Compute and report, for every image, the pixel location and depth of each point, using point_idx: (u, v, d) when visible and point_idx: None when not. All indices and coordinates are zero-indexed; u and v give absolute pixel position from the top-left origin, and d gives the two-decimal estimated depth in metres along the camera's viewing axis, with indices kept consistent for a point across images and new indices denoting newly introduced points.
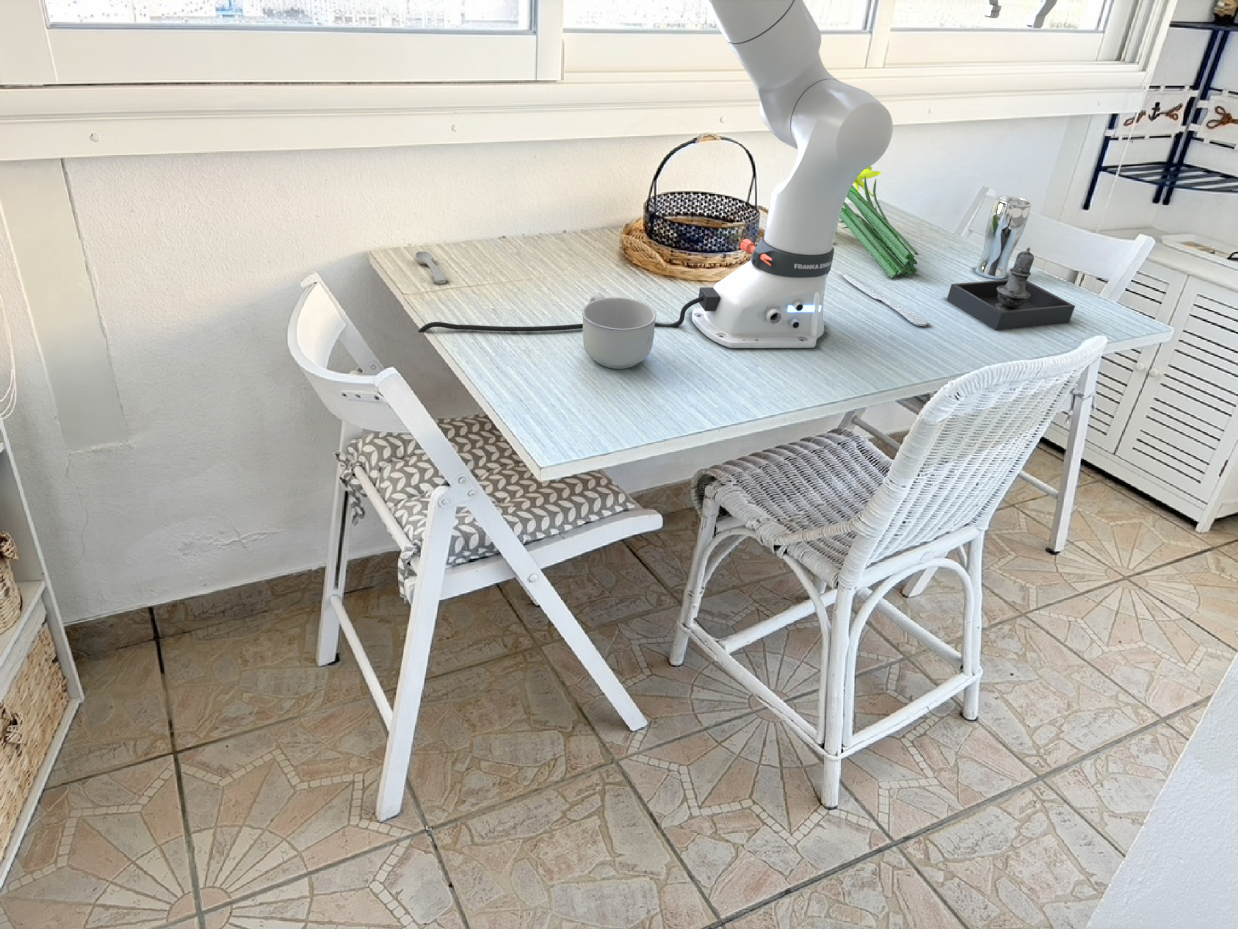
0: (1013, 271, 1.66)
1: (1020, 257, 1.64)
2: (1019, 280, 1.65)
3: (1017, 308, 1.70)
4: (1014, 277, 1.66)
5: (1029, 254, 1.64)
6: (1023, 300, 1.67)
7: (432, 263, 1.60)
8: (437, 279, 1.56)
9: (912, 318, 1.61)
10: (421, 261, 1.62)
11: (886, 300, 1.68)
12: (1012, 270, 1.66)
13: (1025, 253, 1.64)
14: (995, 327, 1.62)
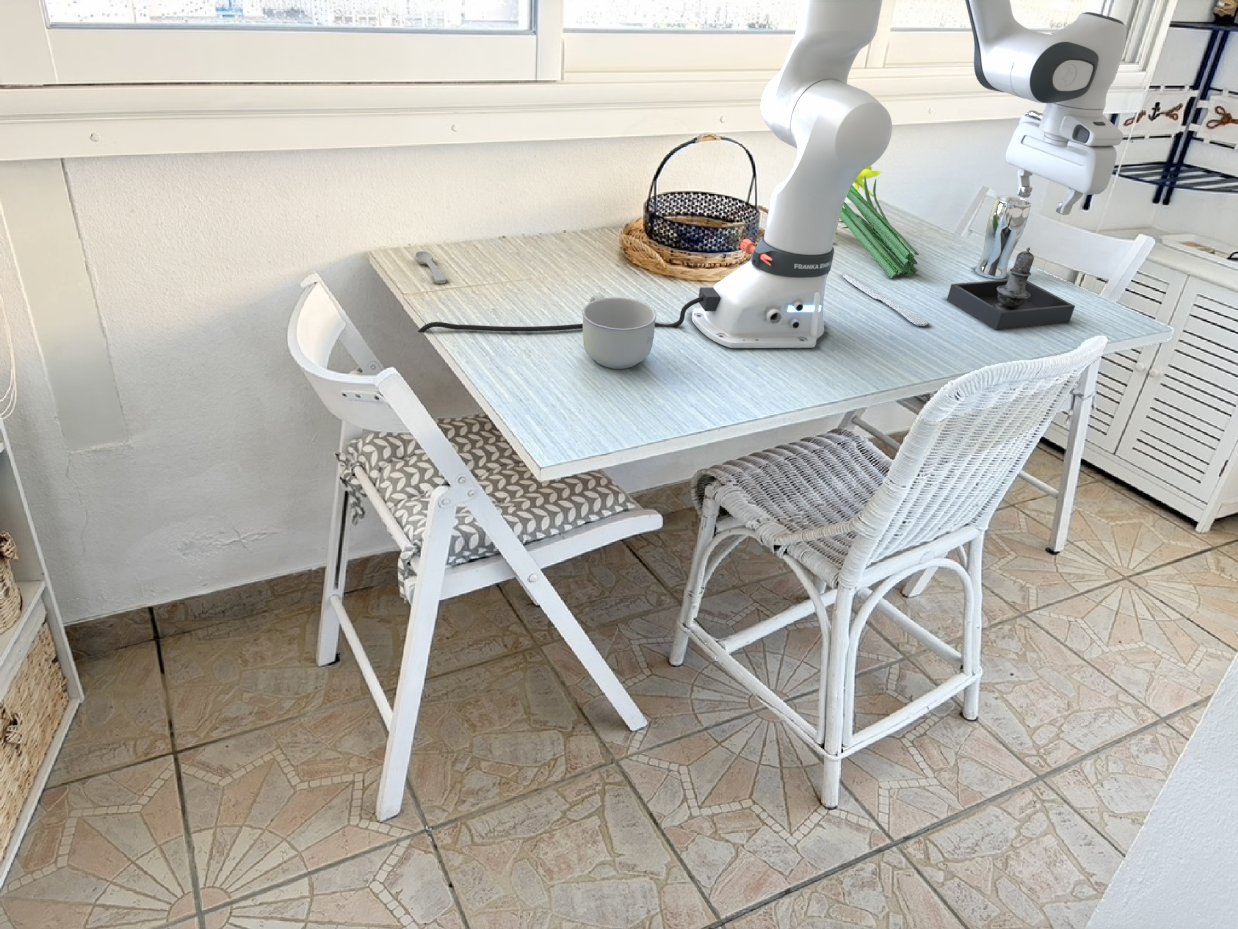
0: (1013, 271, 1.66)
1: (1020, 257, 1.64)
2: (1019, 280, 1.65)
3: (1017, 308, 1.70)
4: (1014, 277, 1.66)
5: (1029, 254, 1.64)
6: (1023, 300, 1.67)
7: (432, 263, 1.60)
8: (437, 279, 1.56)
9: (912, 318, 1.61)
10: (421, 261, 1.62)
11: (886, 300, 1.68)
12: (1012, 270, 1.66)
13: (1025, 253, 1.64)
14: (995, 327, 1.62)
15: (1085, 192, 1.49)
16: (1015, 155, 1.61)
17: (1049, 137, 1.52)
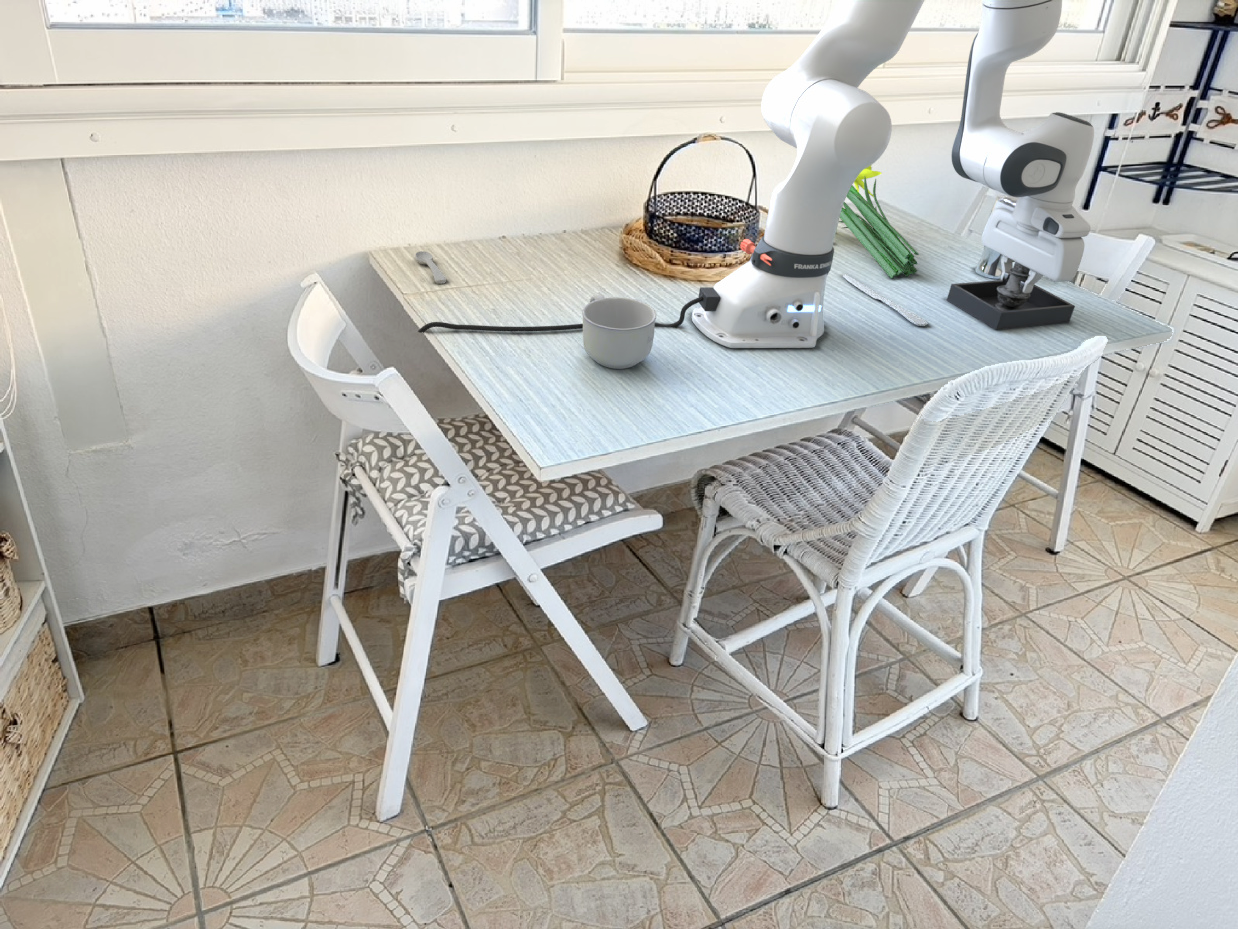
0: (1013, 271, 1.66)
1: None
2: (1019, 280, 1.66)
3: (1017, 308, 1.70)
4: (1014, 277, 1.66)
5: None
6: (1023, 300, 1.67)
7: (432, 263, 1.60)
8: (437, 279, 1.56)
9: (912, 318, 1.61)
10: (421, 261, 1.62)
11: (886, 300, 1.68)
12: (1012, 270, 1.66)
13: None
14: (995, 327, 1.62)
15: (1055, 280, 1.57)
16: (990, 238, 1.69)
17: (1021, 226, 1.61)
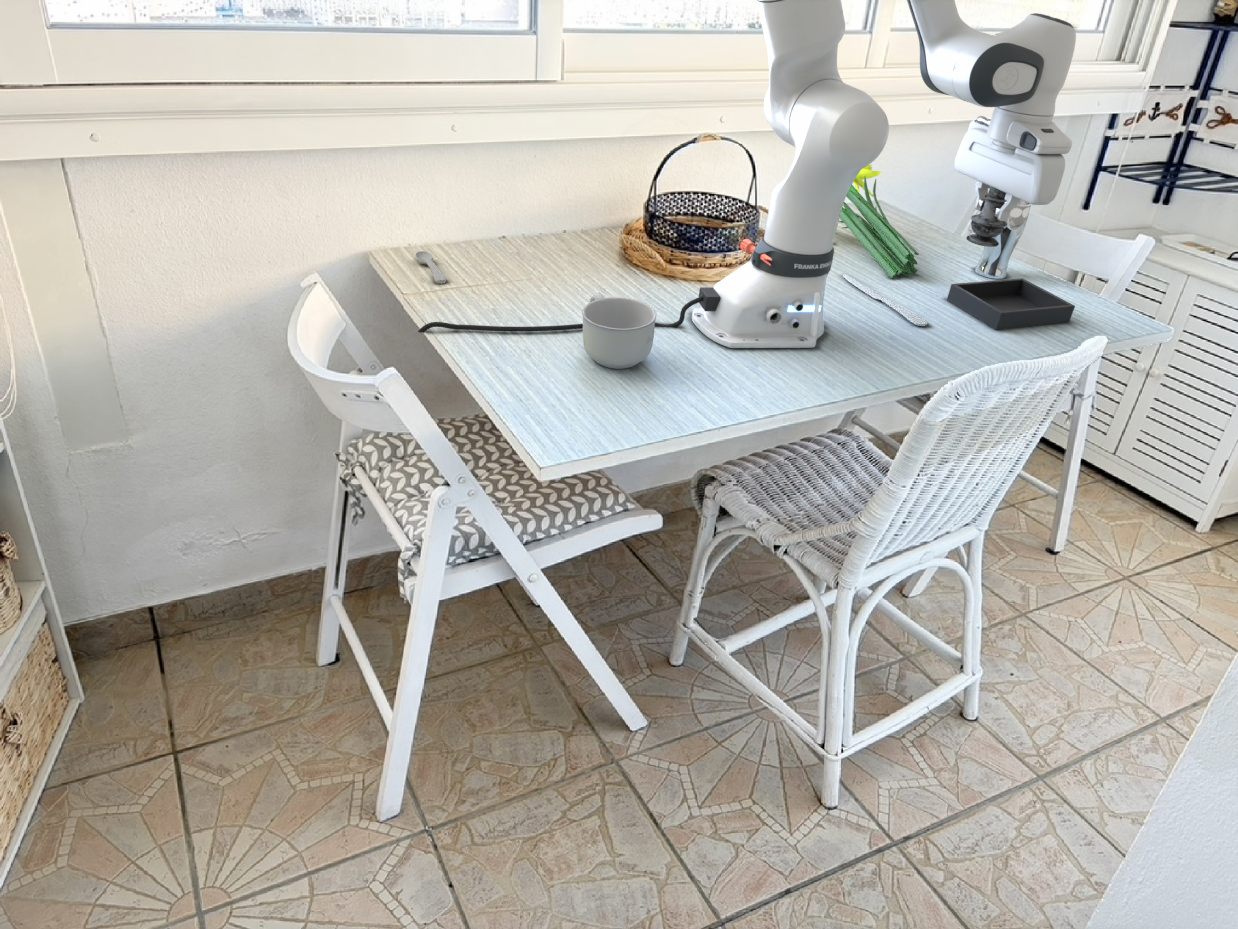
0: (988, 196, 1.50)
1: None
2: (995, 206, 1.50)
3: (993, 239, 1.55)
4: (989, 203, 1.51)
5: None
6: (999, 229, 1.52)
7: (432, 263, 1.60)
8: (437, 279, 1.56)
9: (912, 318, 1.61)
10: (421, 261, 1.62)
11: (886, 300, 1.68)
12: (987, 196, 1.51)
13: None
14: (995, 327, 1.62)
15: (1032, 202, 1.42)
16: (963, 162, 1.54)
17: (997, 144, 1.45)
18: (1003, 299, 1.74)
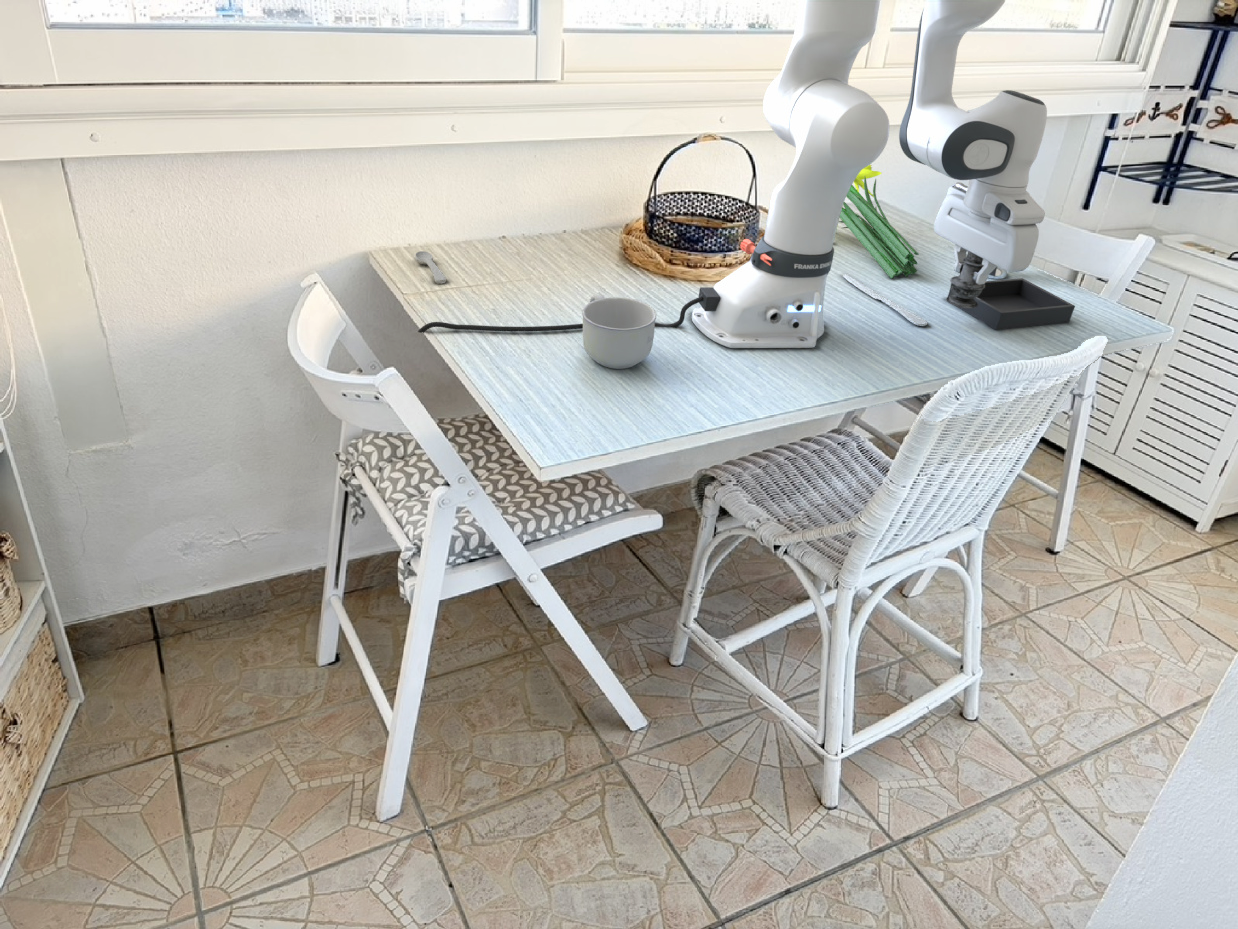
0: (966, 261, 1.56)
1: None
2: (973, 270, 1.56)
3: (972, 300, 1.60)
4: (968, 267, 1.56)
5: None
6: (977, 291, 1.57)
7: (432, 263, 1.60)
8: (437, 279, 1.56)
9: (912, 318, 1.61)
10: (421, 261, 1.62)
11: (886, 300, 1.68)
12: (965, 260, 1.56)
13: None
14: (995, 327, 1.62)
15: (1008, 270, 1.48)
16: (943, 226, 1.59)
17: (973, 212, 1.51)
18: (1003, 299, 1.74)
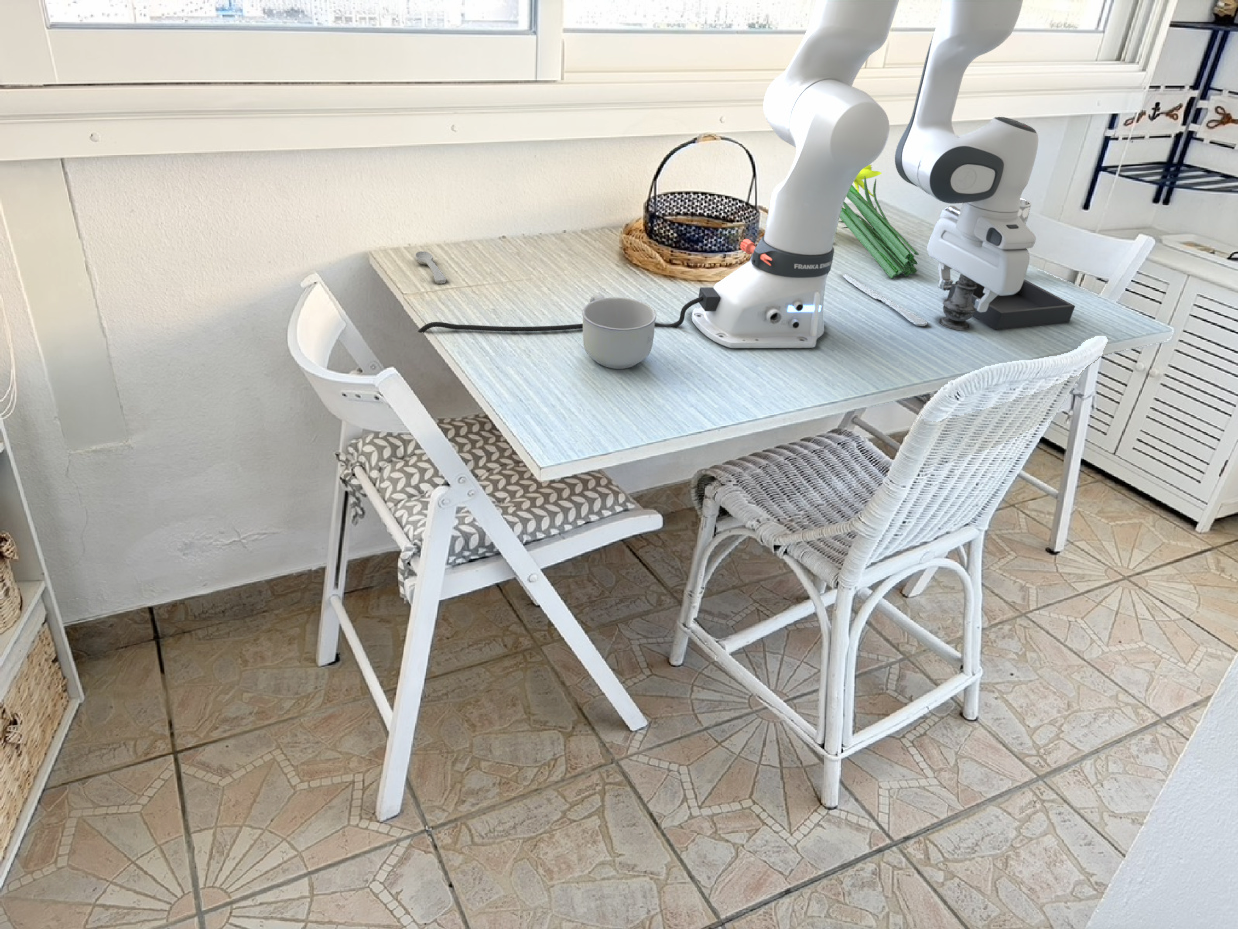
0: (958, 284, 1.58)
1: None
2: (965, 293, 1.58)
3: (964, 322, 1.62)
4: (960, 290, 1.58)
5: None
6: (969, 314, 1.59)
7: (432, 263, 1.60)
8: (437, 279, 1.56)
9: (912, 318, 1.61)
10: (421, 261, 1.62)
11: (886, 300, 1.68)
12: (957, 283, 1.58)
13: None
14: (995, 327, 1.62)
15: (999, 293, 1.50)
16: (936, 249, 1.61)
17: (965, 236, 1.53)
18: (1003, 299, 1.74)
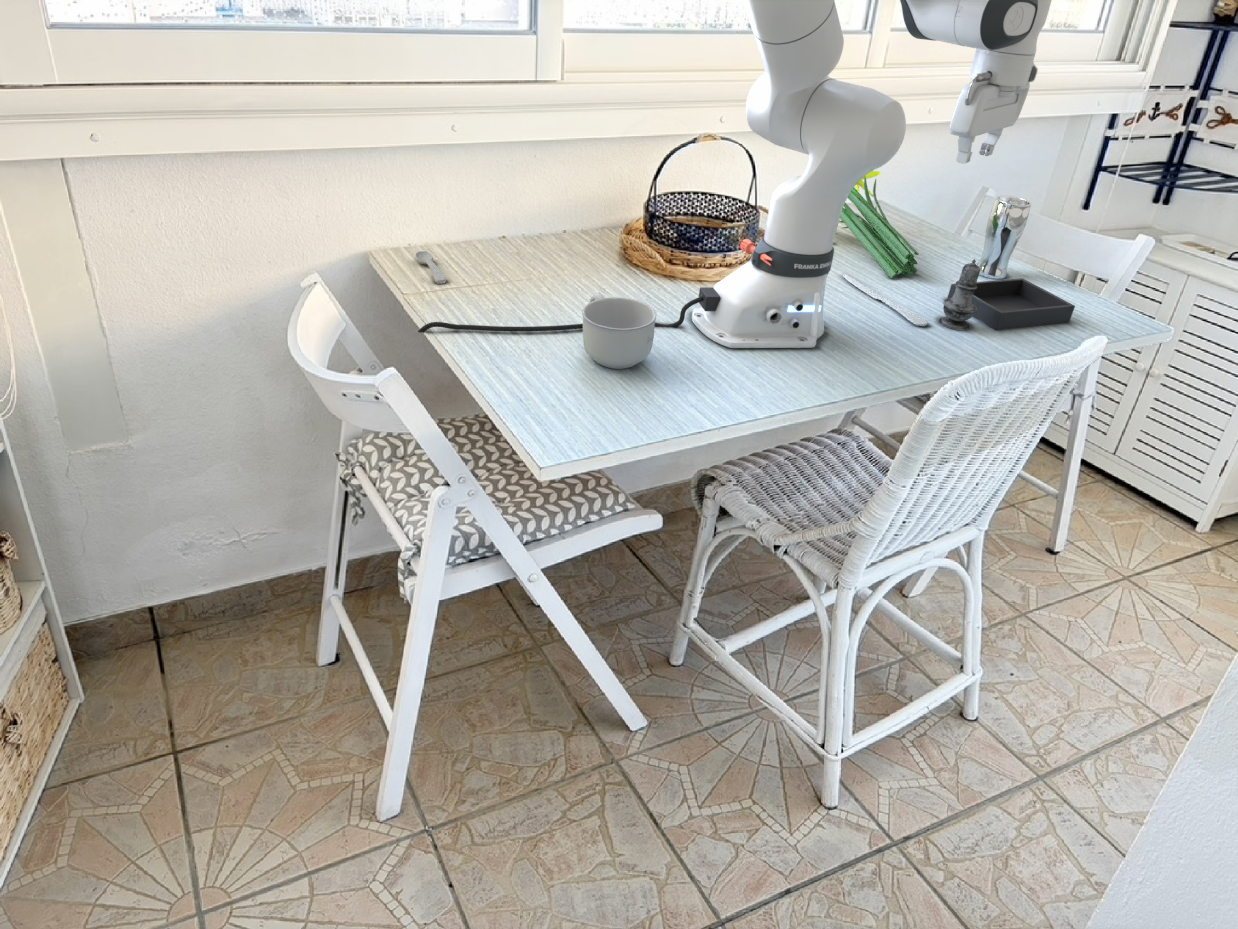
0: (959, 284, 1.58)
1: (965, 269, 1.57)
2: (965, 293, 1.58)
3: (964, 322, 1.62)
4: (960, 290, 1.58)
5: (975, 266, 1.56)
6: (969, 314, 1.59)
7: (432, 263, 1.60)
8: (437, 279, 1.56)
9: (912, 318, 1.61)
10: (421, 261, 1.62)
11: (886, 300, 1.68)
12: (958, 283, 1.58)
13: (971, 265, 1.56)
14: (995, 327, 1.62)
15: (1014, 123, 1.56)
16: (978, 125, 1.44)
17: (1013, 90, 1.45)
18: (1003, 299, 1.74)
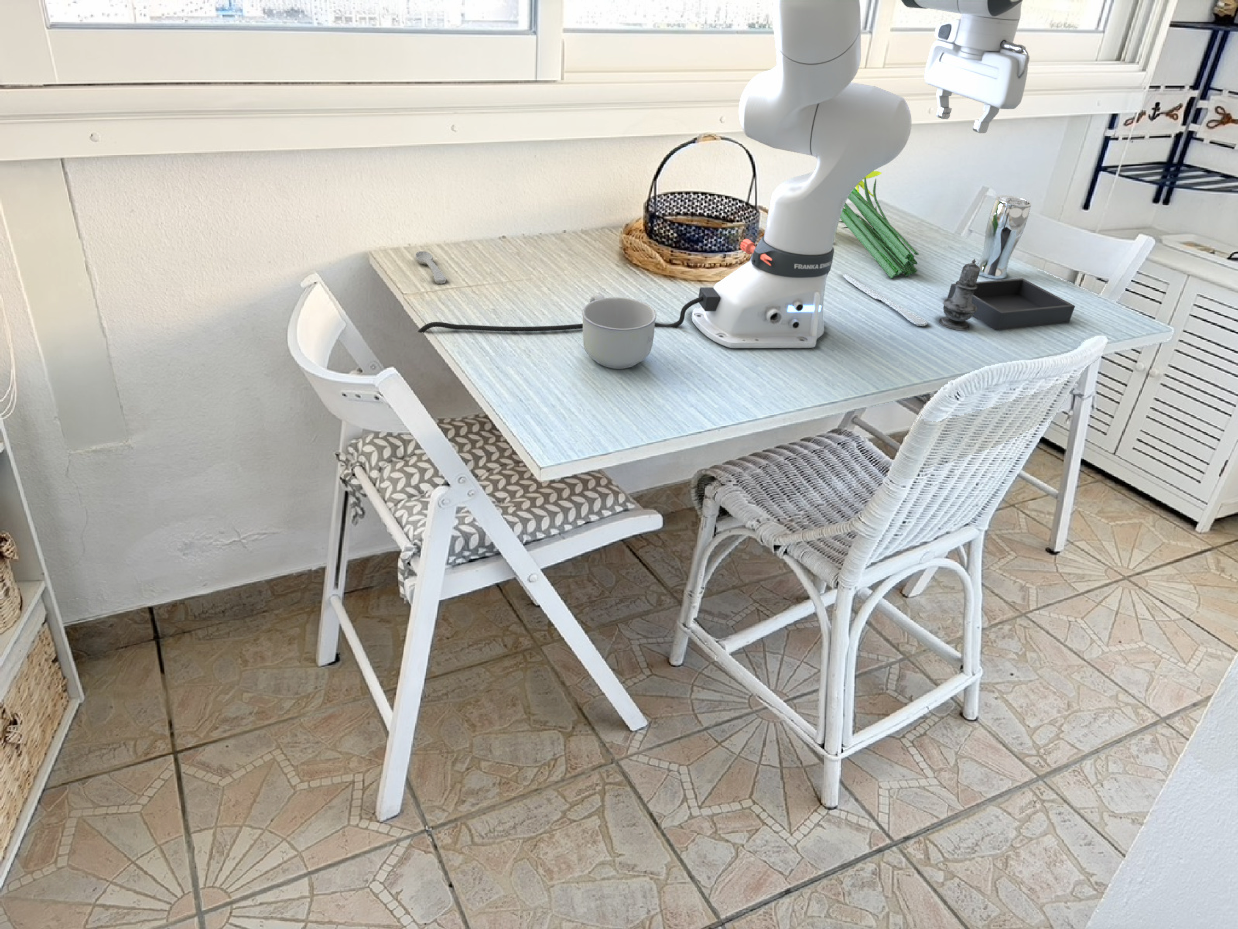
0: (958, 284, 1.58)
1: (965, 269, 1.57)
2: (965, 293, 1.58)
3: (964, 322, 1.62)
4: (960, 290, 1.58)
5: (975, 266, 1.56)
6: (969, 314, 1.59)
7: (432, 263, 1.60)
8: (437, 279, 1.56)
9: (912, 318, 1.61)
10: (421, 261, 1.62)
11: (886, 300, 1.68)
12: (958, 283, 1.58)
13: (970, 265, 1.56)
14: (995, 327, 1.62)
15: None
16: None
17: None
18: (1003, 299, 1.74)
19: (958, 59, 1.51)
